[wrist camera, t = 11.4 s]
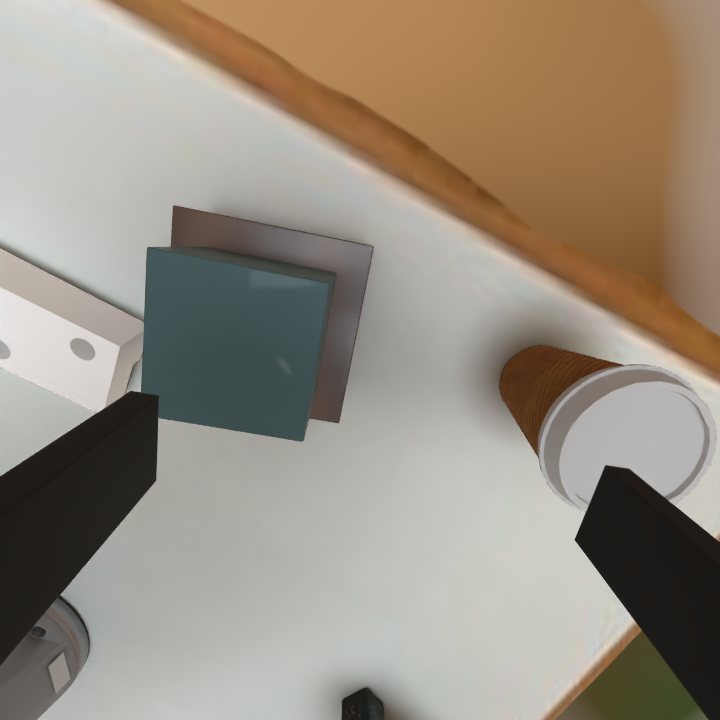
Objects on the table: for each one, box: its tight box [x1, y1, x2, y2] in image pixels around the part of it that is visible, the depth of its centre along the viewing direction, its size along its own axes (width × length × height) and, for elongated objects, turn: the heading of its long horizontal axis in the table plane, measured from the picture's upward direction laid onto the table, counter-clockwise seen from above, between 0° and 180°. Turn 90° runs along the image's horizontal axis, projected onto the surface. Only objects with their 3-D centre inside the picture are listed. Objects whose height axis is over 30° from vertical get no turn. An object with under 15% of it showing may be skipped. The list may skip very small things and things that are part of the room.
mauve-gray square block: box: [171, 205, 374, 423], centre depth 27 cm, size 12×12×6 cm
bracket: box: [0, 249, 144, 413], centre depth 27 cm, size 13×7×8 cm, turn 60°
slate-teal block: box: [141, 247, 336, 441], centre depth 21 cm, size 8×8×7 cm
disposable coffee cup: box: [500, 345, 717, 512], centre depth 27 cm, size 10×10×12 cm
